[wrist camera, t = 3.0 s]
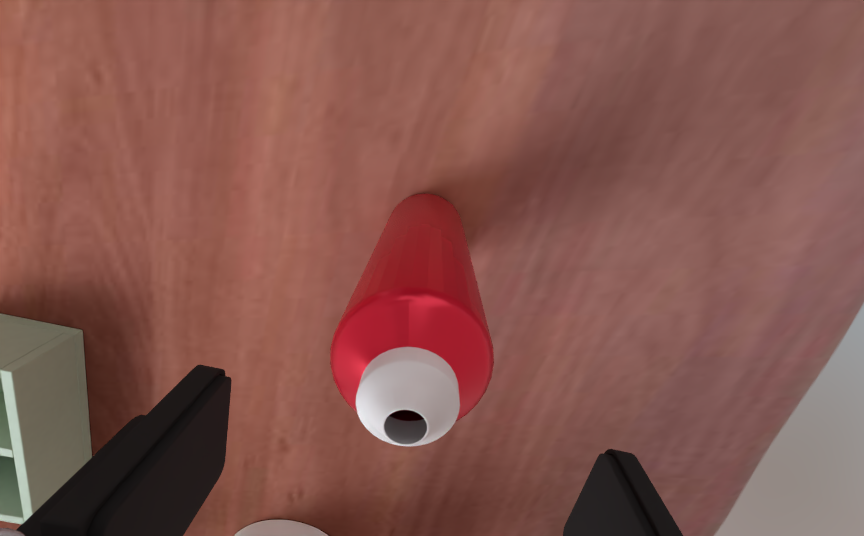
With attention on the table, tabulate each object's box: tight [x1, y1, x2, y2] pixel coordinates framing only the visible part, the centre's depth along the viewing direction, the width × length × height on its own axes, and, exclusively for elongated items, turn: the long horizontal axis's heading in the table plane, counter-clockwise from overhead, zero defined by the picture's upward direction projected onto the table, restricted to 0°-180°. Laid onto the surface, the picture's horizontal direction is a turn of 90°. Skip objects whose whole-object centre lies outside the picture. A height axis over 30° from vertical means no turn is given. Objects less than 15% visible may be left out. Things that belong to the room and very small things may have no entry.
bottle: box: [330, 193, 494, 446], centre depth 20 cm, size 6×6×20 cm
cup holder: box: [0, 313, 92, 524], centre depth 32 cm, size 8×15×6 cm, turn 167°
